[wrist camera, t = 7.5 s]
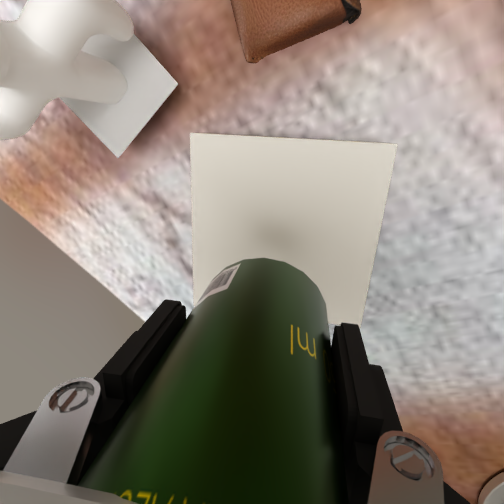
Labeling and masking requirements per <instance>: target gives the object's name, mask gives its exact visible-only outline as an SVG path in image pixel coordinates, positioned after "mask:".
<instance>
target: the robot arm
mask: <svg viewBox="0 0 504 504" xmlns="http://www.w3.org/2000/svg"><path fill="white" fill-rule="evenodd" d="M185 321H186V308H185V306H182V305H181V302H180V301H173V300H164V301H163V302H162V304H161V305H160V306H159V307H158V308H157V309H156V311H155V312H154V313H153V314H152V315H151V316H150V317H149V319H148V320H147V321H146V322H145V323H144V324H143V326H142V327H141V328H140V329H139V330H138V331H135V332H134V333H133V334H132V335H131V336H130V338H129V339H128V340H127V341H126V342H125V343H124V344H123V345H122V347H121V348H120V349H119V350H118V351H117V352H116V354H115V355H114V356H113V357H112V358H111V359H110V360H109V361H108V363H107V364H106V365H105V366H104V367H103V368H102V369H101V371H100V372H99V373H98V374H97V375H96V376H95V377H94V379H91V378H84V377H81V378H75V379H71V380H68V381H65V382H63V383H61V384H59V385H58V386H56V387H55V388H54V389H52V390H51V391H50V392H49V393H48V394H47V395H46V397H45V398H44V400H43V402H42V403H41V405H40V407H39V408H38V410H37V411H34V412H32V413H29V414H27V415H24V416H21V417H18V418H16V419H13V420H10V421H8V422H5V423H3V424H0V504H138V503H135V502H132V501H129V500H126V499H122V498H121V497H119V496H117V495H115V494H112V493H107V492H103V491H98V490H93V489H89V488H84V487H79V486H77V485H78V484H79V482H80V481H81V479H82V478H83V476H84V475H85V473H86V472H87V470H88V469H89V467H90V465H91V464H92V462H93V461H94V459H95V458H96V456H97V455H98V453H99V452H100V450H101V449H102V447H103V446H104V444H105V443H106V441H107V440H108V438H109V436H110V435H111V433H112V432H113V430H114V429H115V427H116V426H117V424H118V423H119V421H120V420H121V418H122V417H123V415H124V414H125V412H126V411H127V409H128V408H129V406H130V404H131V403H132V401H133V400H134V398H135V397H136V395H137V394H138V392H139V391H140V389H141V388H142V386H143V385H144V383H145V382H146V380H147V379H148V377H149V375H150V374H151V372H152V371H153V369H154V368H155V366H156V365H157V363H158V362H159V360H160V359H161V357H162V356H163V354H164V353H165V351H166V350H167V348H168V347H169V345H170V343H171V342H172V340H173V339H174V337H175V336H176V334H177V333H178V331H179V330H180V328H181V327H182V325H183V324H184V322H185ZM331 352H332V361H333V369H334V378H335V387H336V395H337V404H338V412H339V421H340V430H341V438H342V447H343V456H344V464H345V473H346V482H347V490H348V499H349V504H470V503H469V502H468V501H467V500H466V499H464V498H463V497H462V496H461V495H460V494H458V493H457V492H456V491H455V490H454V489H452V488H451V487H450V486H449V485H448V484H446V483H445V482H444V481H443V471H442V467H441V463H440V461H439V459H438V457H437V456H436V454H435V453H434V452H433V450H432V449H431V448H430V447H429V446H428V445H427V444H426V443H424V442H423V441H422V440H420V439H419V438H417V437H415V436H413V435H411V434H409V433H406V432H403V430H402V427H401V424H400V421H399V418H398V415H397V412H396V408H395V405H394V402H393V399H392V396H391V393H390V390H389V387H388V384H387V381H386V378H385V375H384V372H383V369H382V367H381V366H378V365H371V364H369V362H368V359H367V355H366V351H365V348H364V344H363V340H362V337H361V333H360V329H359V326H358V324H351V323H343V322H342V323H341V325H340V326H335V328H334V334H333V340H332V346H331ZM478 504H504V472H502V473H500V474H498V475H497V476H495V477H494V478H492V479H491V480H490V481H489V482H488V483H487V484H486V485H485V486H484V488H483V489H482V491H481V493H480V496H479V499H478Z"/></svg>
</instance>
